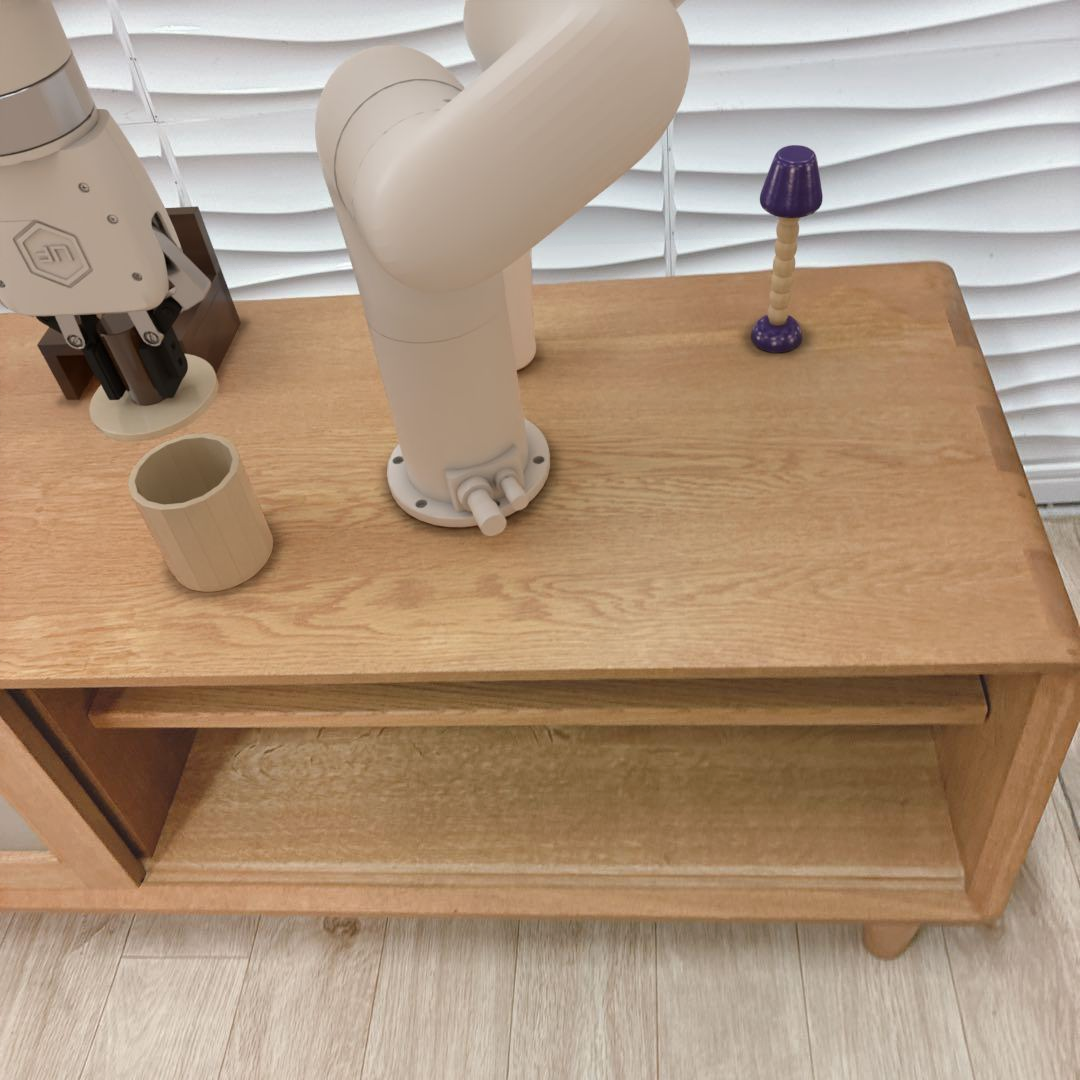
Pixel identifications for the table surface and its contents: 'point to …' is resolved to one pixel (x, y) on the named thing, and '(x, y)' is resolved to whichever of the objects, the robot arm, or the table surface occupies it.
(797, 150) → the toy lamp
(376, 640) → the table surface
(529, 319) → the drinking glass
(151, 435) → the lid
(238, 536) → the pot
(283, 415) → the table surface
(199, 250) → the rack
